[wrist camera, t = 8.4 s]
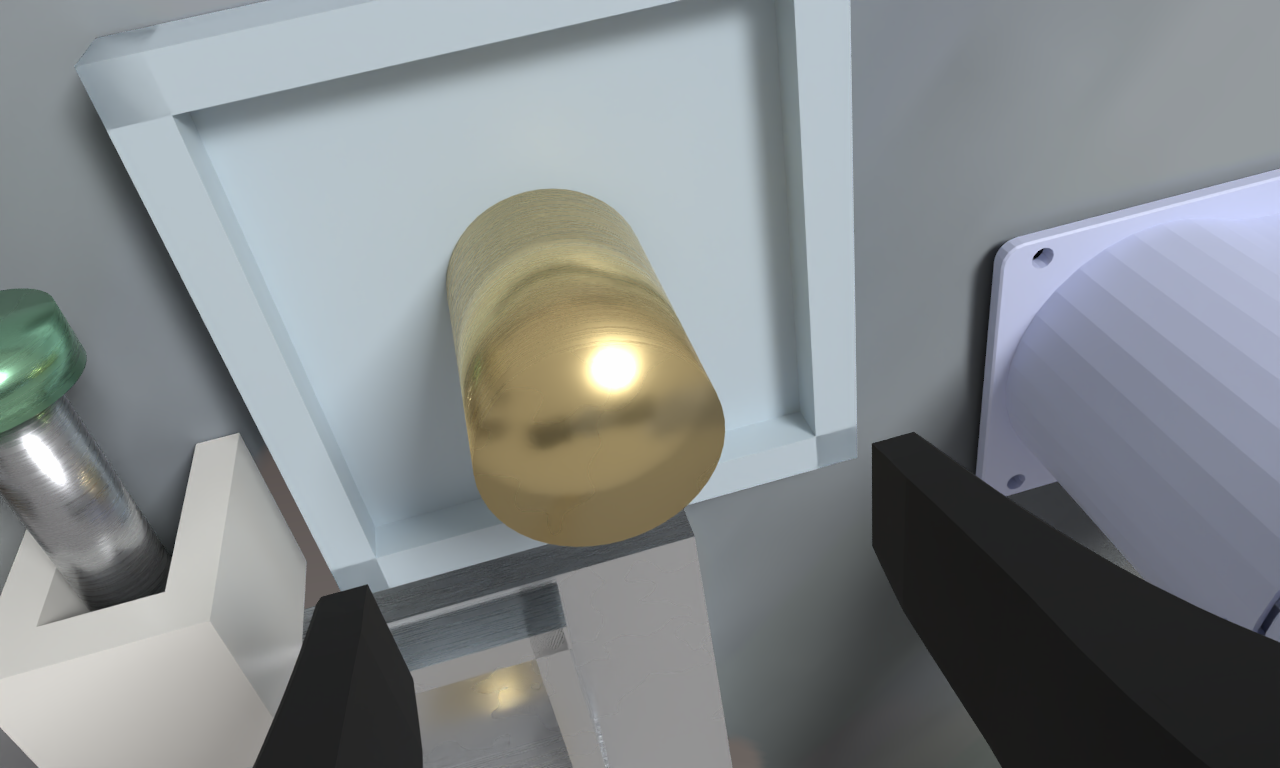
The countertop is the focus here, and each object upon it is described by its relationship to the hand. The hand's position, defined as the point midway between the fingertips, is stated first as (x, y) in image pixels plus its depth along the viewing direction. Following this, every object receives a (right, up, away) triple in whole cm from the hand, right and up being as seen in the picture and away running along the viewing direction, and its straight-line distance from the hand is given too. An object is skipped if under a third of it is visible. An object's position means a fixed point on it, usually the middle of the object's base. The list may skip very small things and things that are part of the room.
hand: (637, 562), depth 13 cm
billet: (-2, +4, +6) cm, 8 cm away
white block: (-10, -1, +8) cm, 13 cm away
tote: (-2, +5, +7) cm, 8 cm away
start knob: (-10, +1, +5) cm, 11 cm away
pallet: (-5, -8, +15) cm, 17 cm away
